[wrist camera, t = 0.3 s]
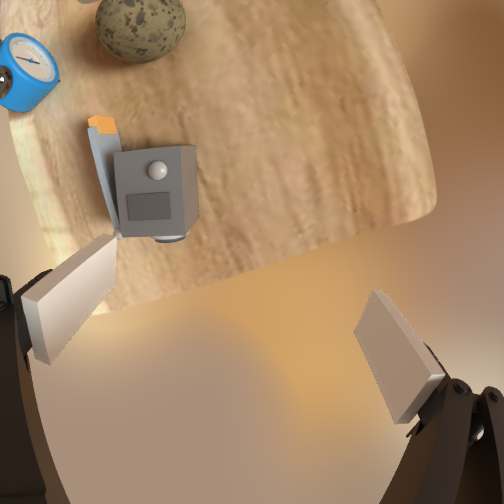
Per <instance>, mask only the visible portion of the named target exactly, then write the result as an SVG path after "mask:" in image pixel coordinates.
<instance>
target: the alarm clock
mask: <svg viewBox="0 0 504 504" xmlns="http://www.w3.org/2000/svg"><path fill="white" fill-rule="evenodd" d="M1 41H2V39H1V38H0V105H2V106H3V107H5V108H7V109H9V110H12V111H15V112H28V111H31V110H32V109H34V108H35V107H36V106H37V104H38V103H39V102H40V101H41V100H42V99H43V98H44V97H45V96H46V95H47V94H48V93H49V92H50V91H51V90H52V89H53V88H54V87H55V86H56V84H57V83H58V82H60V80H59V72H58V68H57V65H56V63H55V61H54V59H53V57H52V56H51V54H50V53H49V52H48V51H47V49H46V48H45V47H44V46H43V45H42V44H41V43H39V42H38V41H37V40H35V39H34V38H32V37H31V36H28V35H26V34H23V33H12V34H10V35H8V36H7V37H6V38H5V39H4V40H3V41H2V43H1Z"/></svg>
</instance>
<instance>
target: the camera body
mask: <svg viewBox="0 0 504 504" xmlns="http://www.w3.org/2000/svg"><path fill="white" fill-rule="evenodd" d="M114 168H115V181H116V192H117V202H118V211H119V220H120V227H121V235H122V237H149V236H150V237H151V238H153V239H155V241H156V242H160V243H171V242H177V241H180V240H183V239H184V238H185V237H186V235H188V234H189V233H190V229H191V227H192V226H193V225H194V223H195V222H196V221H197V219H198V218H199V205H198V185H197V162H196V146H169V147H159V148H149V149H140V150H132V151H124V152H117V153H114Z"/></svg>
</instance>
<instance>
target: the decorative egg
mask: <svg viewBox="0 0 504 504" xmlns="http://www.w3.org/2000/svg"><path fill="white" fill-rule="evenodd" d="M95 24H96V31H97V35H98V38H99V40H100V42H101V44H102V45H103V47H104V48H105V49H106V50H107V51H108V52H109V53H110V54H111V55H113V56H114V57H116V58H118V59H120V60H123V61H126V62H130V63H146V62H151V61H154V60H157V59H159V58H161V57H163V56H165V55H166V54H168V53H169V52H170V51H171V50H173V49H174V48H175V47H176V45H177V44H178V43H179V41H180V40H181V38H182V36H183V33H184V30H185V26H186V16H185V11H184V8H183V6H182V4H181V3H180V1H179V0H102V2H101V3H100V5H99V7H98V10H97V13H96V21H95Z"/></svg>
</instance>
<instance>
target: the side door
mask: <svg viewBox="0 0 504 504" xmlns="http://www.w3.org/2000/svg"><path fill="white" fill-rule="evenodd" d="M88 123H89V129H87V130H88V135H89V140H90V144H91V149H92V153H93V157H94V161H95V165H96V169H97V173H98V177H99V180H100V184H101V188H102V191H103V195H104V198H105V201H106V205H107V208H108V211H109V215H110V218H111V221H112V224H113V227H114V230H115V231H114V236H117V239H118V240H120V239H122V238H123V237H122V235H121V227H120V220H119V211H118V202H117V192H116V181H115V168H114V153H117V152H123V151H122V147H121V142H120V138H119V134H118V130H117V128H115V123H114V119H113V117H106V116H99V115H96V116H94V117H91V118H89V119H88Z"/></svg>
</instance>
